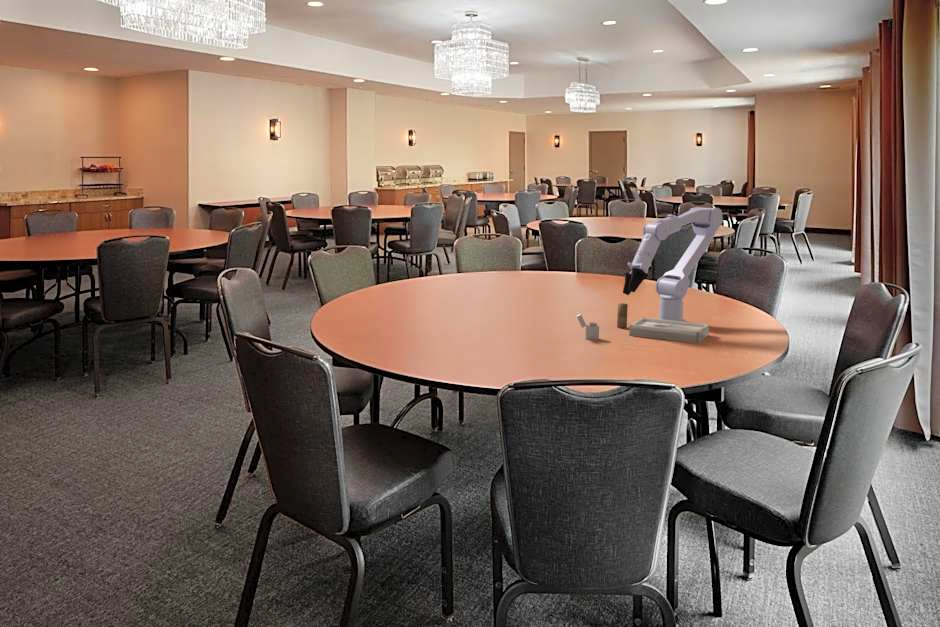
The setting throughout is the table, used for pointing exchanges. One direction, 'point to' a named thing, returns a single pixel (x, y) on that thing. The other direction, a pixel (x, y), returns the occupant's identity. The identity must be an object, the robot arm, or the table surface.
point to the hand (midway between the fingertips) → (628, 292)
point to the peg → (622, 315)
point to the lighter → (590, 328)
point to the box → (669, 330)
